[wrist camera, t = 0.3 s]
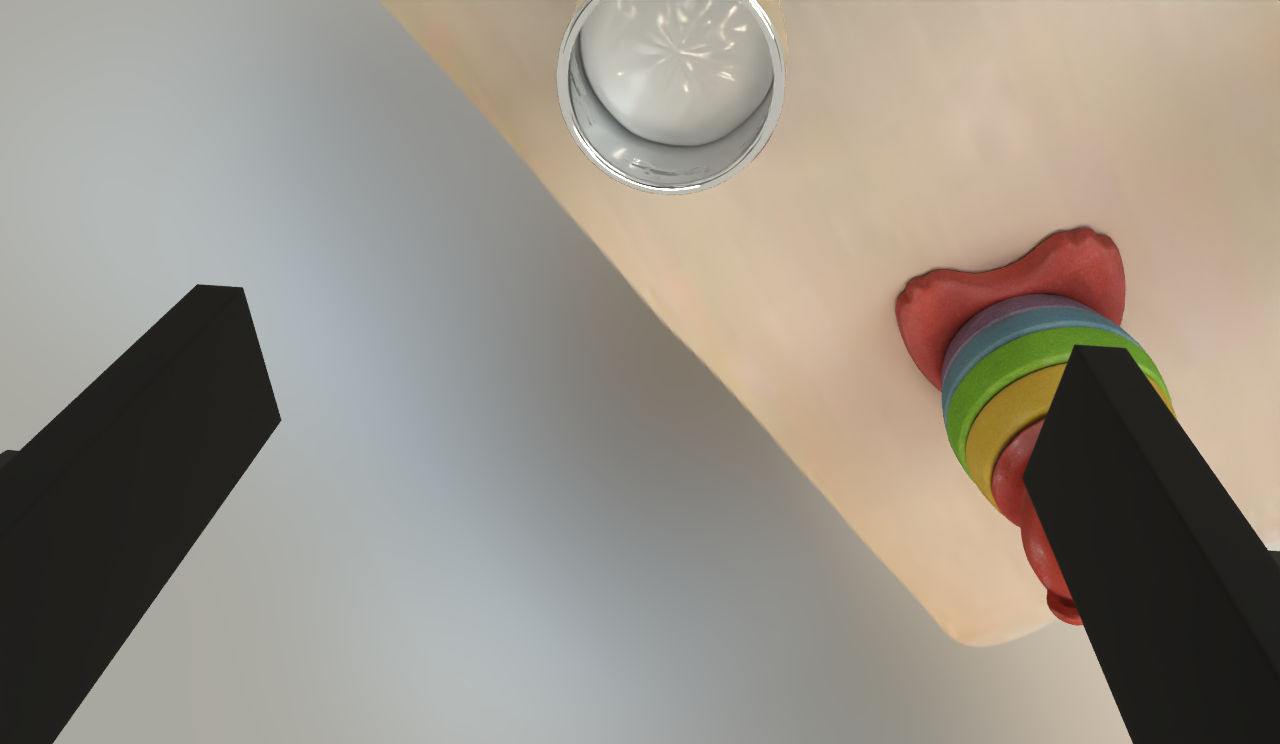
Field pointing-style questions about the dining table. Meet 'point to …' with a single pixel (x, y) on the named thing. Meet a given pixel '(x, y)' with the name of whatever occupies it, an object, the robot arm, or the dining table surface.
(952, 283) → the stacking bear
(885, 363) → the dining table surface
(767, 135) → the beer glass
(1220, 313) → the dining table surface
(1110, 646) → the robot arm
